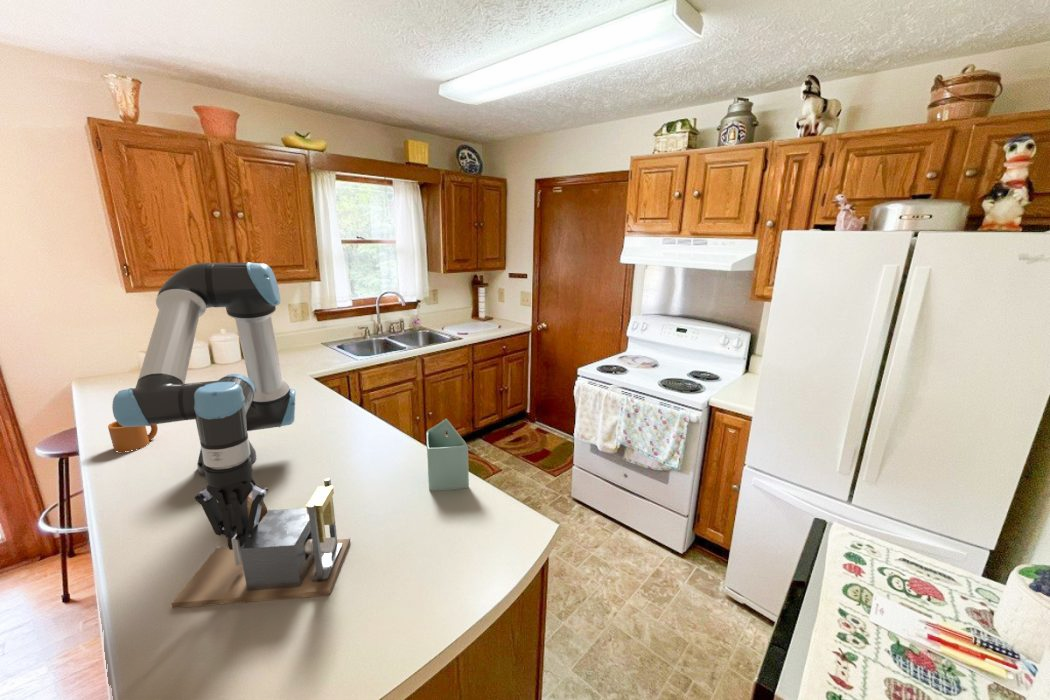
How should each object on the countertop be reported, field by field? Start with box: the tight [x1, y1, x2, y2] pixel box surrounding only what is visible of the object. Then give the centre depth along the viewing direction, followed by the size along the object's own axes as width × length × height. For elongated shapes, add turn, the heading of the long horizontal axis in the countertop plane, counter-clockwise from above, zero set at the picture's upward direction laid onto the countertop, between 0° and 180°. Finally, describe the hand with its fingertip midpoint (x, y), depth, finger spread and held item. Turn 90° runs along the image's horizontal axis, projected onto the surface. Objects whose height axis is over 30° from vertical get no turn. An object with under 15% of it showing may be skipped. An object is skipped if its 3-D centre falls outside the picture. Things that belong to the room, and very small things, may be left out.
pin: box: [304, 537, 336, 555], centre depth 88 cm, size 16×6×6 cm, turn 97°
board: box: [170, 538, 351, 609], centre depth 89 cm, size 29×15×1 cm, turn 97°
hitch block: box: [240, 477, 342, 591], centre depth 87 cm, size 15×12×18 cm
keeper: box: [305, 485, 335, 543], centre depth 87 cm, size 3×7×9 cm, turn 7°
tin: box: [247, 493, 269, 524], centre depth 103 cm, size 15×3×8 cm, turn 54°
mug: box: [107, 420, 158, 452], centre depth 140 cm, size 9×12×9 cm
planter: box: [425, 418, 470, 492], centre depth 120 cm, size 16×8×20 cm, turn 57°
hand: (241, 560), depth 87 cm, fingers closed
